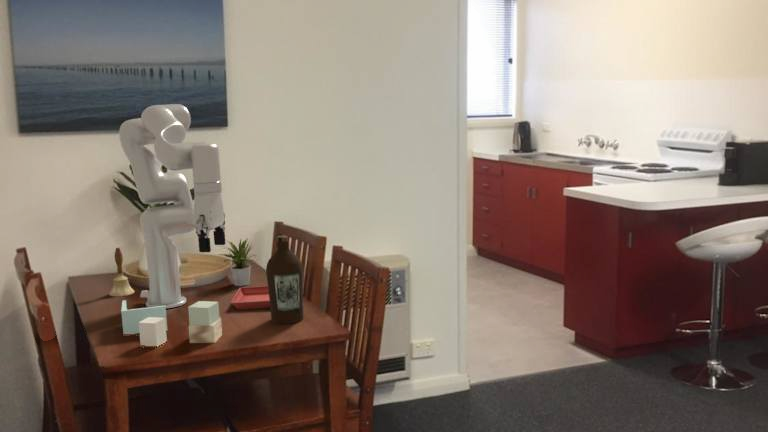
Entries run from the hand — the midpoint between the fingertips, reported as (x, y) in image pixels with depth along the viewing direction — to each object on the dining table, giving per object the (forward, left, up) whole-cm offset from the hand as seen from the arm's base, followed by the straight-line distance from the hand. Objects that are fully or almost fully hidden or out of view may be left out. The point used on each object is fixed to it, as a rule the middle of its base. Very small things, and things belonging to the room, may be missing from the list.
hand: (212, 248), depth 226 cm
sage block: (0, -8, -19) cm, 21 cm away
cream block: (-12, -15, -24) cm, 31 cm away
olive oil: (+16, +12, -24) cm, 31 cm away
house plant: (-17, +50, -24) cm, 57 cm away
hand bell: (-53, +32, -24) cm, 66 cm away
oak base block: (0, -8, -24) cm, 25 cm away
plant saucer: (+1, +29, -24) cm, 38 cm away
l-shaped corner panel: (-22, -2, -24) cm, 33 cm away
